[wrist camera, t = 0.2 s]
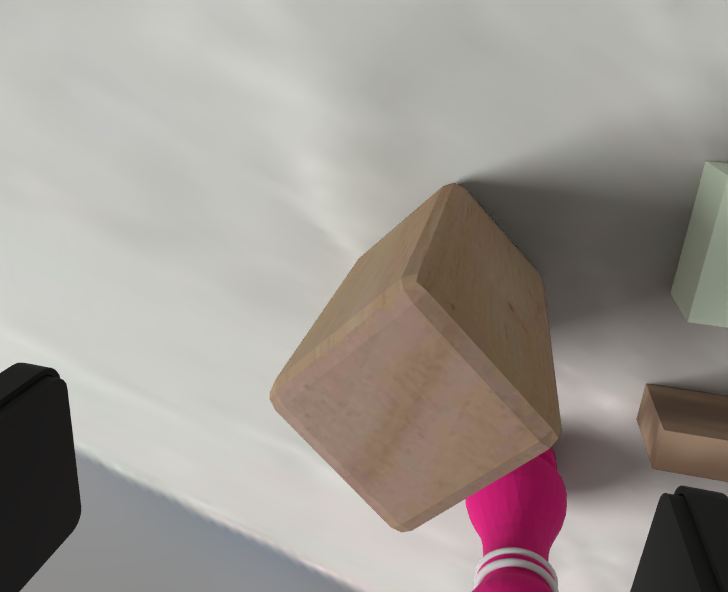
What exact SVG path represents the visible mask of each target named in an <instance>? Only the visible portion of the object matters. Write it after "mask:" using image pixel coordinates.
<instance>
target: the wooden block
mask: <svg viewBox="0 0 728 592" xmlns="http://www.w3.org/2000/svg"><path fill="white" fill-rule="evenodd" d="M270 400H271V402H272V404H273V406H274V408H275V410H276V411H277V412H278V413H279V414H280V415H281V416H282V417H283V418H284V419H285V420H286V421H287V422H288V423H289V424H290V425H291V427H292V428H293V429H294V430H295V431H296V432H297V433H298V434H299V435H300V436H301V437H302V438H303V439H304V440H305V441H306V442H307V443H308V444H309V445H310V446H311V447H312V448H313V449H314V450H315V451H316V452H317V453H318V454H319V455H320V456H321V457H322V458H323V459H324V460H325V461H326V462H327V463H328V464H329V465H330V466H331V467H332V468H333V469H334V470H335V471H336V472H337V473H338V474H339V475H340V476H341V477H342V478H343V479H344V480H345V481H346V482H347V483H348V484H349V485H350V486H351V487H352V488H353V489H354V490H355V491H356V492H357V493H358V494H359V495H360V496H361V497H362V498H363V499H364V500H365V501H366V502H367V504H368V505H369V506H370V507H371V508H372V509H373V510H374V511H375V512H376V513H377V514H378V515H379V516H380V517H381V518H382V519H383V520H384V521H385V522H386V523H387V524H388V525H389V526H390V527H392V528H394V529H396V530H398V531H400V532H406V531H412V530H414V529H415V528H417V527H419V526H420V525H422V524H424V523H425V522H427V521H429V520H430V519H432V518H434V517H435V516H437V515H439V514H441V513H442V512H444V511H446V510H447V509H449V508H451V507H452V506H454V505H456V504H457V503H459V502H461V501H462V500H464V499H466V498H468V497H469V496H471V495H473V494H474V493H476V492H478V491H479V490H481V489H483V488H484V487H486V486H488V485H489V484H491V483H493V482H494V481H496V480H498V479H500V478H501V477H503V476H505V475H506V474H508V473H510V472H511V471H513V470H515V469H516V468H518V467H520V466H521V465H523V464H525V463H527V462H528V461H530V460H532V459H533V458H535V457H537V456H538V455H540V454H542V453H543V452H545V451H547V450H548V449H550V448H551V447H552V445H553V444H554V443H555V442H556V441H557V440H558V438H559V436H560V434H561V433H562V427H561V419H560V411H559V403H558V395H557V387H556V379H555V371H554V363H553V355H552V347H551V339H550V330H549V322H548V314H547V306H546V298H545V290H544V284H543V281H542V278H541V275H540V274H539V273H538V272H537V271H536V269H535V268H534V267H533V266H532V265H531V264H530V263H529V261H528V260H527V259H526V258H525V257H524V256H523V254H522V253H521V252H520V251H519V250H518V249H517V248H516V246H515V245H514V244H513V243H512V242H511V241H510V240H509V238H508V237H507V236H506V235H505V234H504V233H503V232H502V230H501V229H500V228H499V227H498V226H497V225H496V223H495V222H494V221H493V220H492V219H491V218H490V217H489V215H488V214H487V213H486V212H485V211H484V210H483V209H482V207H481V206H480V205H479V204H478V203H477V202H476V201H475V199H474V198H473V197H472V196H471V195H470V194H469V192H468V191H467V190H466V189H465V188H464V187H462V186H460V185H458V184H456V183H452V184H449V185H446V186H443V187H442V188H441V189H440V190H438V191H437V192H436V193H435V194H434V195H433V196H431V197H430V198H429V199H428V200H427V201H426V202H424V203H423V204H422V205H421V206H420V207H419V208H417V209H416V210H415V211H414V212H413V213H412V214H410V215H409V216H408V217H407V218H406V219H405V220H403V221H402V222H401V223H400V224H399V225H398V226H396V227H395V228H394V229H393V230H392V231H391V232H389V233H388V234H387V235H386V236H385V237H384V238H382V239H381V240H380V241H379V242H378V243H377V244H375V245H374V246H373V247H372V248H371V249H370V250H368V251H367V252H366V253H365V254H364V255H363V256H361V257H360V258H359V259H358V261H357V262H356V264H355V265H354V267H353V268H352V269H351V271H350V272H349V274H348V275H347V277H346V278H345V280H344V281H343V282H342V284H341V285H340V287H339V288H338V290H337V291H336V293H335V294H334V296H333V297H332V298H331V300H330V301H329V303H328V304H327V306H326V307H325V309H324V310H323V312H322V313H321V314H320V316H319V317H318V319H317V320H316V322H315V323H314V325H313V326H312V327H311V329H310V330H309V332H308V333H307V335H306V336H305V338H304V339H303V341H302V342H301V343H300V345H299V346H298V348H297V349H296V351H295V352H294V354H293V355H292V357H291V358H290V359H289V361H288V362H287V364H286V365H285V367H284V368H283V370H282V371H281V372H280V374H279V375H278V377H277V378H276V380H275V382H274V384H273V387H272V389H271V391H270Z"/></svg>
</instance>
